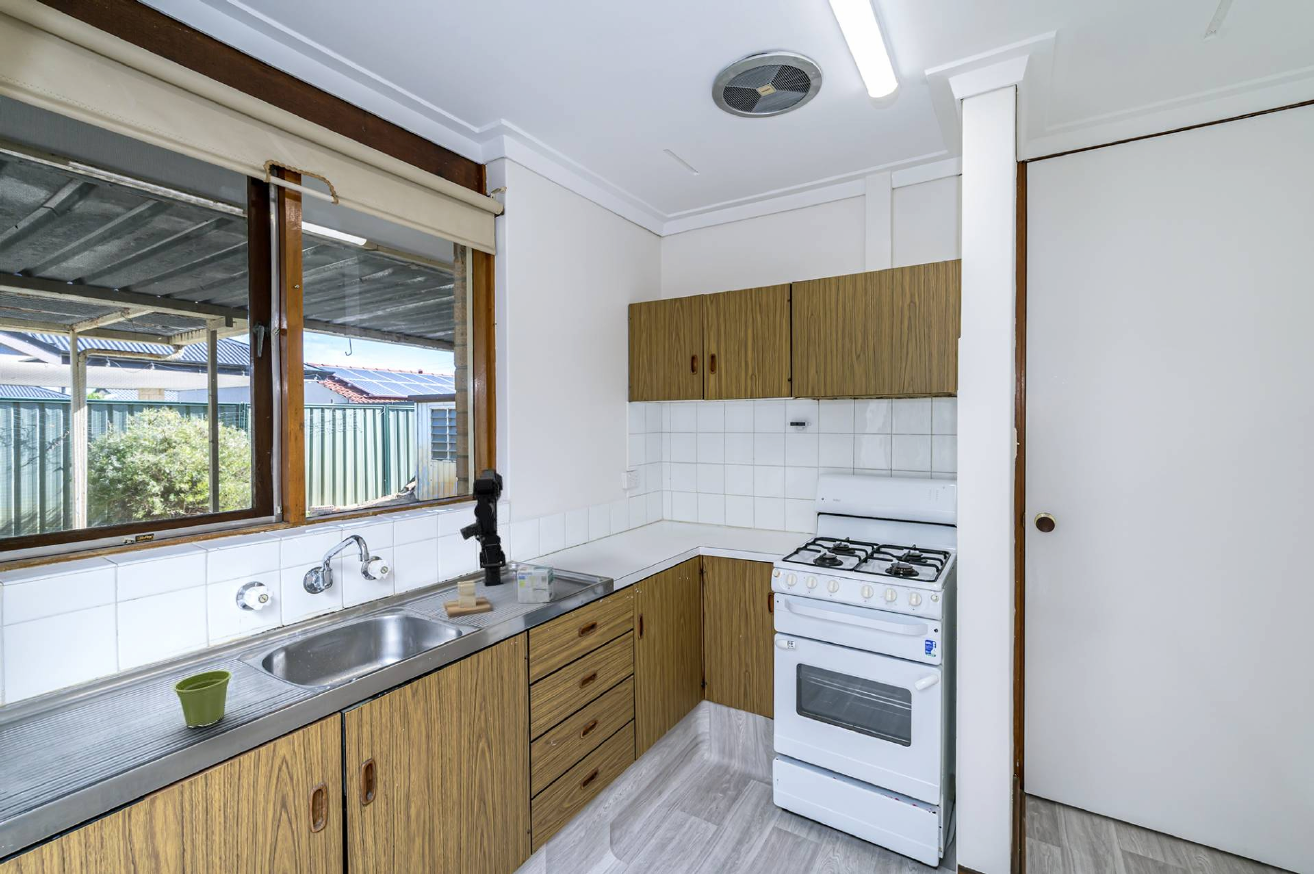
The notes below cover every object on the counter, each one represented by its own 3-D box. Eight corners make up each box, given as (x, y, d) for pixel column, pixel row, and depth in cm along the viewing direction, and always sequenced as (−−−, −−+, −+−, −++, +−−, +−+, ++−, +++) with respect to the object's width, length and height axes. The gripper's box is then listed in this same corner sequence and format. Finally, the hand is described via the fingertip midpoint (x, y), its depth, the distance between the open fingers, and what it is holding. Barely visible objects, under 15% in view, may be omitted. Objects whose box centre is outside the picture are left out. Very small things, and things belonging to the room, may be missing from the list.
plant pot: (187, 738, 114) (185, 694, 114) (167, 726, 119) (165, 684, 119) (241, 717, 122) (239, 676, 122) (221, 706, 127) (219, 666, 127)
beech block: (458, 603, 190) (457, 582, 190) (474, 601, 192) (473, 580, 192) (459, 608, 185) (458, 586, 185) (475, 606, 187) (475, 584, 187)
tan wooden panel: (444, 608, 192) (444, 602, 192) (485, 602, 198) (485, 596, 197) (448, 620, 180) (448, 614, 180) (492, 613, 186) (491, 607, 186)
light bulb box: (554, 597, 199) (553, 565, 199) (549, 603, 192) (548, 570, 192) (523, 597, 200) (522, 565, 199) (517, 603, 193) (516, 571, 193)
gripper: (458, 513, 204) (459, 558, 205) (464, 521, 187) (466, 570, 188) (491, 510, 209) (492, 554, 210) (500, 518, 192) (501, 565, 193)
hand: (487, 560), depth 200 cm, fingers open, 9 cm apart
